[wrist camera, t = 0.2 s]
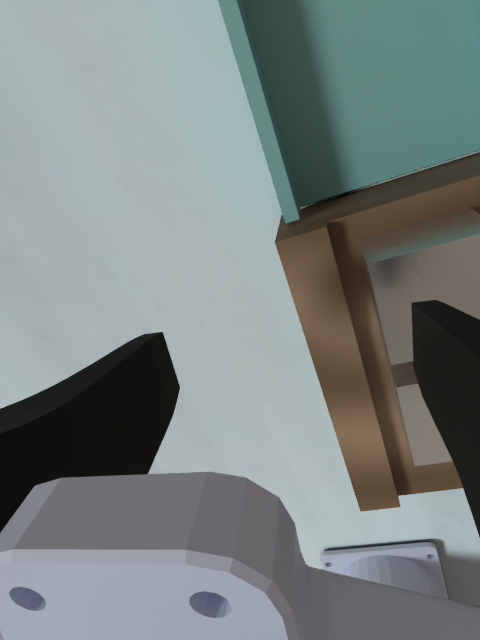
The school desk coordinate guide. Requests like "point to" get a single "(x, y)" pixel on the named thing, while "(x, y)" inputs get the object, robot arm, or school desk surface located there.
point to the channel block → (366, 321)
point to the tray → (356, 88)
